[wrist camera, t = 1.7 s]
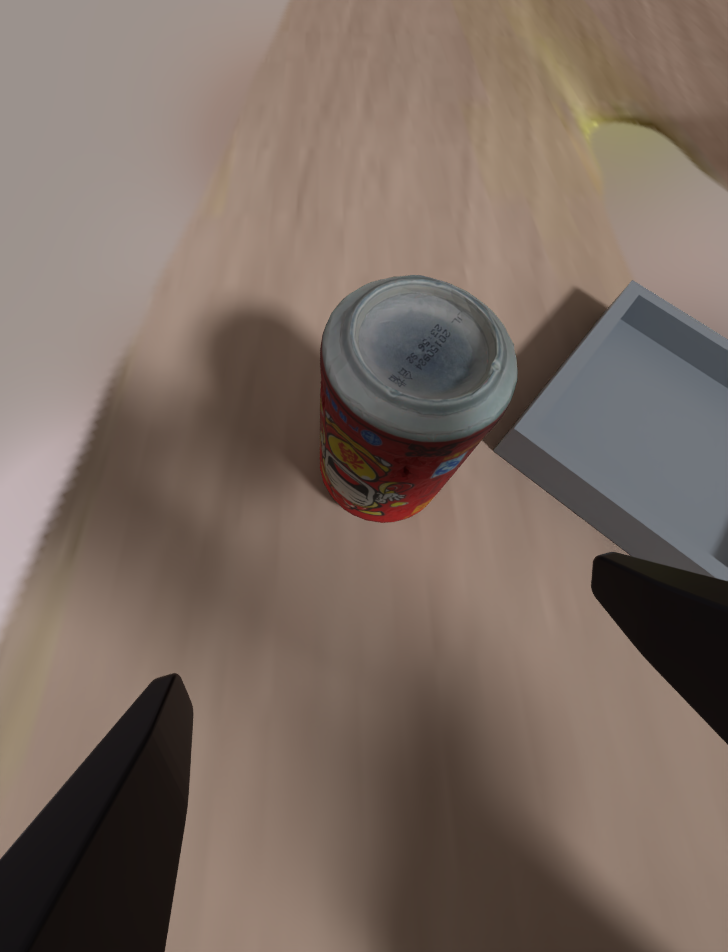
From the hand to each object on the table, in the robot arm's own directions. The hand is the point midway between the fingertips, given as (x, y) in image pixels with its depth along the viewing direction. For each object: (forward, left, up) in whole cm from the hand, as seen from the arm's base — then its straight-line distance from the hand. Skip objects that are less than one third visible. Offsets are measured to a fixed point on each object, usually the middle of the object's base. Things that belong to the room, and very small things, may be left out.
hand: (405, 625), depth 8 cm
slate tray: (-8, -23, -14) cm, 28 cm away
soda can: (+5, -8, -14) cm, 17 cm away
